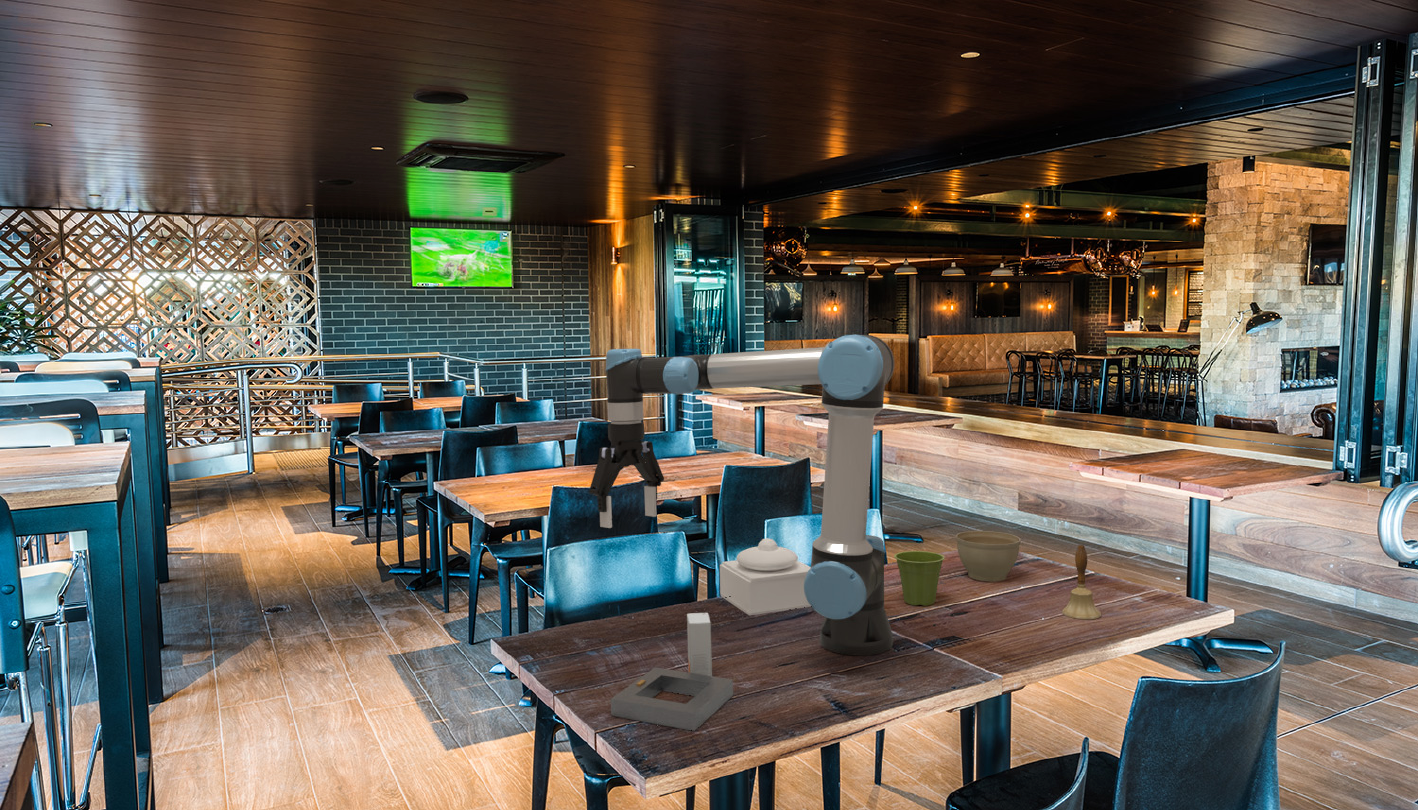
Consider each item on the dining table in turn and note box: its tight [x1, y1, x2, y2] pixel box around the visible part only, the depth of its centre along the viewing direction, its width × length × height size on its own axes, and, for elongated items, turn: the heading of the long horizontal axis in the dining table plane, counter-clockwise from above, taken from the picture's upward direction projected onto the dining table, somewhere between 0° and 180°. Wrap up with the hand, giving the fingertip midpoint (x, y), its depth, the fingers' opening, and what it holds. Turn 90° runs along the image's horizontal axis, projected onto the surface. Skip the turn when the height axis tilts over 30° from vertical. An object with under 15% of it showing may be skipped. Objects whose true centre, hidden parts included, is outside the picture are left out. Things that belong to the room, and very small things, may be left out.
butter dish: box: [719, 537, 812, 616], centre depth 222 cm, size 18×18×16 cm
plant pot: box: [893, 550, 946, 607], centre depth 219 cm, size 12×12×11 cm
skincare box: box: [686, 612, 713, 676], centre depth 173 cm, size 6×4×12 cm
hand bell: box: [1061, 544, 1102, 620], centre depth 207 cm, size 8×8×16 cm
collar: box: [610, 667, 734, 732], centre depth 161 cm, size 16×16×3 cm
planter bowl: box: [955, 530, 1021, 583], centre depth 239 cm, size 16×16×11 cm
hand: (629, 521), depth 194 cm, fingers open, 13 cm apart
